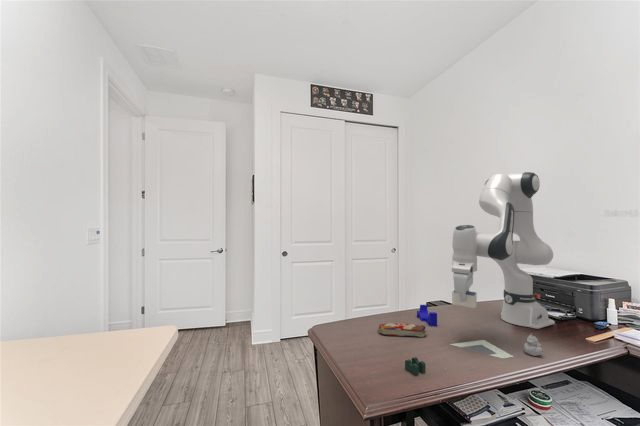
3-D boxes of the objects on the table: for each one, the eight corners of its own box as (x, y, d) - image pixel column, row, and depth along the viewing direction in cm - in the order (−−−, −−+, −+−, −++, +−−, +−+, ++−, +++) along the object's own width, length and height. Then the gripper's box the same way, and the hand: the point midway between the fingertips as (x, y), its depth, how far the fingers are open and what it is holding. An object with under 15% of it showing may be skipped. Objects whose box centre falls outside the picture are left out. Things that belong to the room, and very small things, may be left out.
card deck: (454, 300, 114) (454, 289, 114) (476, 304, 109) (476, 292, 109) (452, 303, 110) (452, 291, 110) (474, 308, 105) (474, 295, 105)
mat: (483, 341, 109) (483, 339, 109) (513, 358, 96) (513, 356, 96) (444, 346, 105) (444, 344, 105) (470, 364, 92) (470, 362, 92)
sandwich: (380, 327, 123) (380, 316, 123) (426, 333, 117) (426, 321, 117) (377, 338, 112) (377, 326, 112) (428, 345, 106) (428, 332, 106)
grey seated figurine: (519, 352, 100) (519, 330, 100) (531, 349, 102) (531, 328, 102) (535, 359, 95) (535, 337, 95) (547, 356, 97) (547, 334, 97)
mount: (421, 368, 90) (421, 353, 90) (432, 375, 86) (432, 359, 86) (397, 378, 85) (397, 362, 85) (408, 386, 81) (408, 369, 81)
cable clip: (416, 316, 135) (416, 304, 135) (425, 316, 135) (425, 304, 135) (427, 326, 123) (427, 313, 123) (437, 326, 123) (437, 313, 123)
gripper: (460, 261, 120) (460, 292, 119) (450, 268, 103) (450, 304, 103) (477, 262, 116) (476, 295, 116) (469, 270, 99) (469, 308, 99)
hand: (464, 299), depth 109 cm, fingers closed on card deck, 5 cm apart
